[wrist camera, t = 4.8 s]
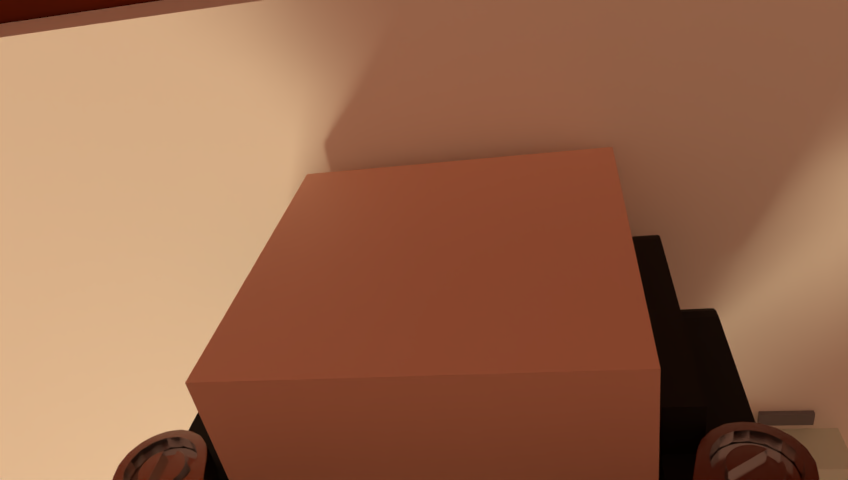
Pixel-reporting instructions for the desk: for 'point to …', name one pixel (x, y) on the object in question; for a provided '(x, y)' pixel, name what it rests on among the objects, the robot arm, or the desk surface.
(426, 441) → the stub
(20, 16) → the desk surface
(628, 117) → the ticket board
